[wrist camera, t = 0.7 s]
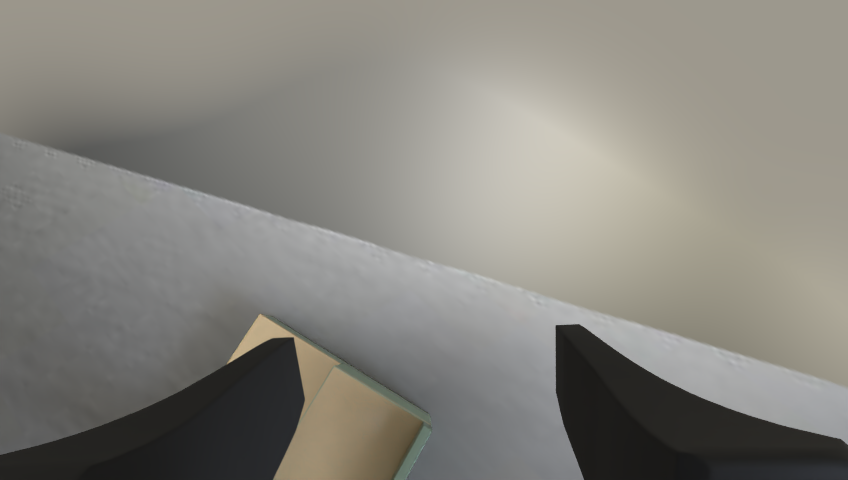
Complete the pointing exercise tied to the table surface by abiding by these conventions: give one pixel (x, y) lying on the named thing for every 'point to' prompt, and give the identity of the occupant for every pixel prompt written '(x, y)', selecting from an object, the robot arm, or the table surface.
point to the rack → (343, 417)
